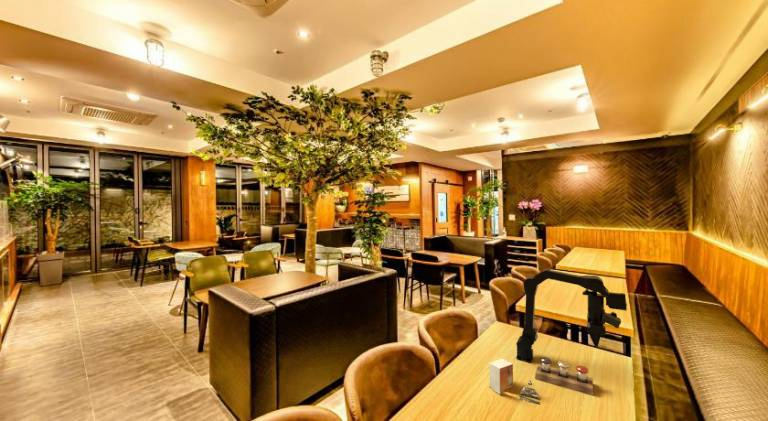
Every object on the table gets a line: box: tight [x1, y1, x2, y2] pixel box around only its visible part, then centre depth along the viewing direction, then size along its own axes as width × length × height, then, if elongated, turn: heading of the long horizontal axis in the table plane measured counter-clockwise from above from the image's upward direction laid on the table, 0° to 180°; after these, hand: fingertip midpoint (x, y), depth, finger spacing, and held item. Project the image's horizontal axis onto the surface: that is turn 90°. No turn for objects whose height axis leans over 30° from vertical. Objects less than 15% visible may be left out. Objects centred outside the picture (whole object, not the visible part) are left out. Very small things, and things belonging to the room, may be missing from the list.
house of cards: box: [519, 379, 541, 405], centre depth 117 cm, size 9×9×8 cm
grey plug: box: [540, 356, 552, 374], centre depth 128 cm, size 4×4×6 cm
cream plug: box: [557, 360, 570, 379], centre depth 124 cm, size 4×4×6 cm
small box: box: [488, 358, 514, 395], centre depth 122 cm, size 8×6×10 cm
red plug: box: [575, 365, 589, 384], centre depth 120 cm, size 4×4×6 cm
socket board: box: [534, 363, 594, 396], centre depth 124 cm, size 20×9×4 cm, turn 55°
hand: (596, 342), depth 127 cm, fingers open, 9 cm apart
